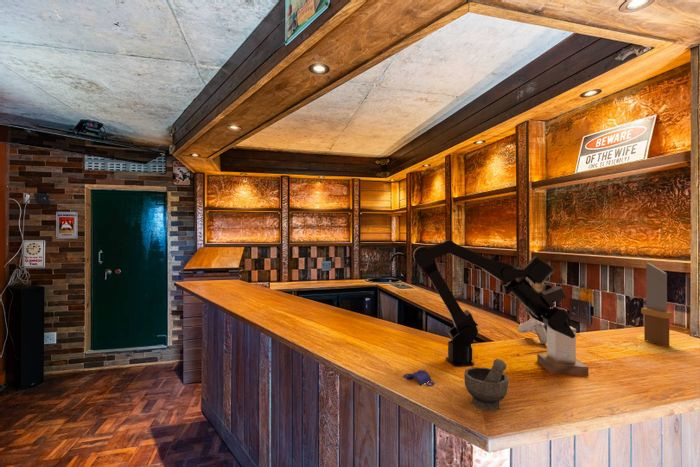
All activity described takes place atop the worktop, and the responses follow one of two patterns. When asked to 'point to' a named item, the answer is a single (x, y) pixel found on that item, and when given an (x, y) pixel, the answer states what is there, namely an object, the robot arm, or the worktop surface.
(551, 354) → the tin
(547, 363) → the block
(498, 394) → the mortar and pestle
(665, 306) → the knife
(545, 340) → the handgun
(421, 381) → the blue animal figurine
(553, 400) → the worktop surface
